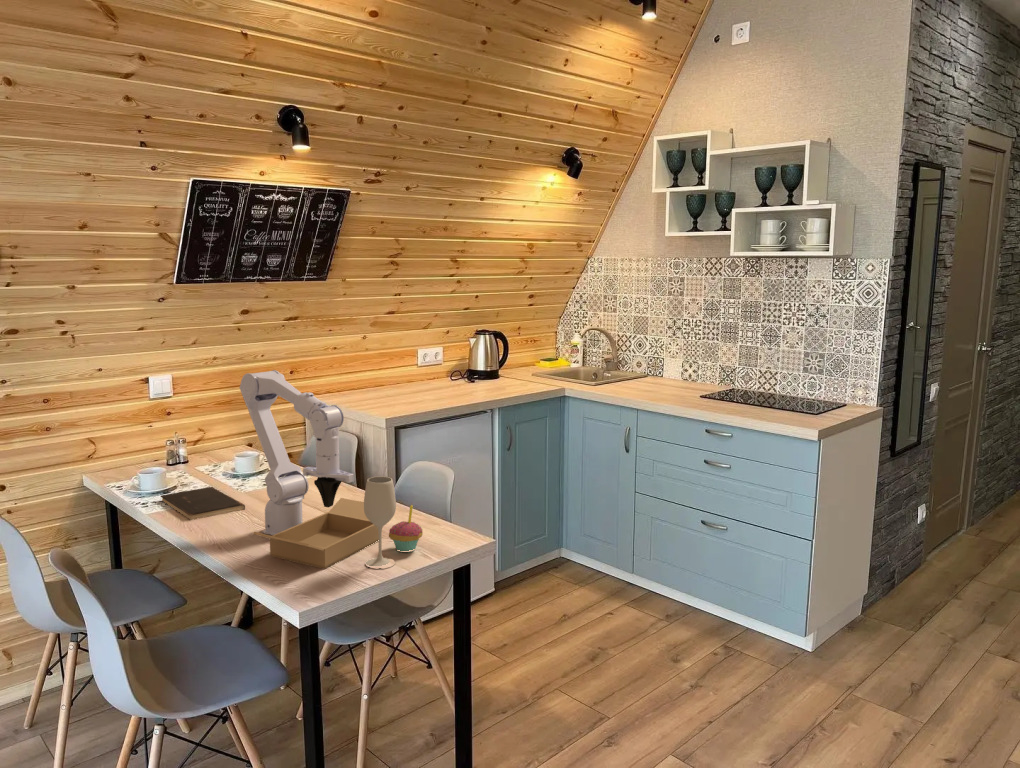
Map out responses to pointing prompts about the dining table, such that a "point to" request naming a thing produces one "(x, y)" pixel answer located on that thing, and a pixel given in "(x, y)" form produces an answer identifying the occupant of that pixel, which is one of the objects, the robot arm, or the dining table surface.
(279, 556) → the carton
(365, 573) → the dining table surface
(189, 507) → the hardcover book
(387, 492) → the wineglass
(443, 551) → the dining table surface
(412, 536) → the cupcake
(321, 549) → the flap
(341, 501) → the flap
